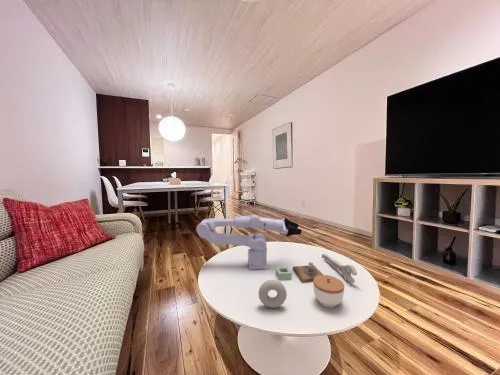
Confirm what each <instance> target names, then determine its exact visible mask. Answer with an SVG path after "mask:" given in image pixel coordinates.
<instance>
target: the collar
mask: <svg viewBox="0 0 500 375" xmlns="http://www.w3.org/2000/svg"><path fill="white" fill-rule="evenodd" d="M275 275H276V277H277V279H278V281H286V280H287V281H288V280H292V272H291V270H290V269H289V267H287V266H286V267H285V266H284V267H283V266H282V267H276V268H275Z"/></svg>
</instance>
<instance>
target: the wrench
mask: <svg viewBox="0 0 500 375" xmlns="http://www.w3.org/2000/svg"><path fill="white" fill-rule="evenodd" d="M322 258H324V260H325V262H326V263H328V265H330V266H332V267H334V268H335V269H336V270H337V271H339V272H340V273H341V275H342V276H343V278H344V281H345V282H348V283H350V284H351V283H355V279H354V277H352V276H357V275H358V273H357V270H356V268H355V266H353V264H347V265H344V264H342V263H340V262H339V261H337V260H336V259H334V258H332V257H331V256H329V255H328V254H326V253H322V254H321V259H322Z"/></svg>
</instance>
